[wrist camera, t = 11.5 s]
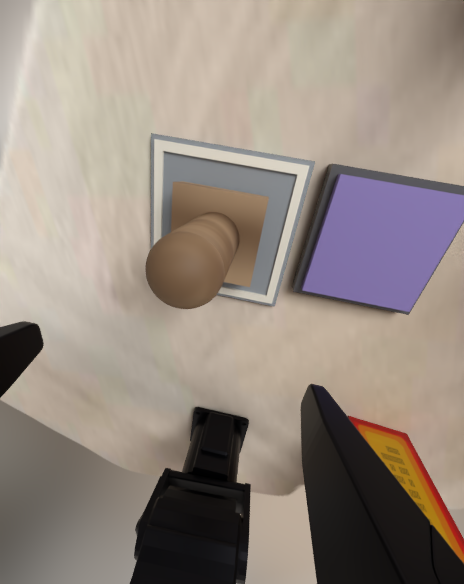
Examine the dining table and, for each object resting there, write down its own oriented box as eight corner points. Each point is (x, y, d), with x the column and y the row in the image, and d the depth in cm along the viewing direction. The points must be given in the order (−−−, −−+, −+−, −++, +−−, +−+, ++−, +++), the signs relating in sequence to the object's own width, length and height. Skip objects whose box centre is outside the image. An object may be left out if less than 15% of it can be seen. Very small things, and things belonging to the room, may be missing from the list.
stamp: (252, 274, 19) (237, 362, 10) (180, 260, 19) (104, 333, 10) (268, 196, 16) (269, 219, 7) (185, 181, 17) (86, 185, 8)
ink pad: (401, 308, 19) (412, 318, 18) (292, 286, 20) (293, 294, 18) (470, 188, 15) (491, 190, 14) (329, 164, 15) (335, 163, 14)
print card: (274, 304, 20) (274, 307, 20) (153, 279, 21) (150, 282, 20) (314, 161, 15) (315, 161, 15) (153, 134, 16) (149, 132, 16)
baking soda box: (361, 477, 29) (448, 758, 15) (311, 461, 29) (352, 728, 15) (406, 433, 25) (588, 769, 11) (348, 415, 25) (453, 727, 11)
